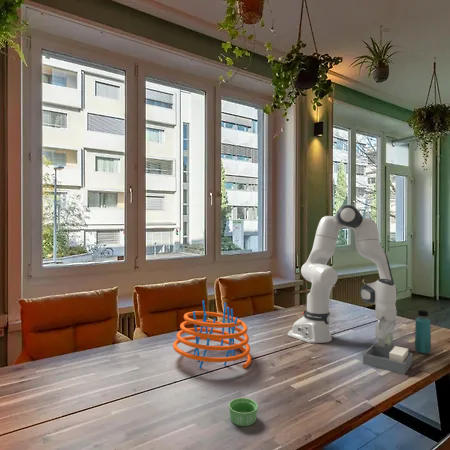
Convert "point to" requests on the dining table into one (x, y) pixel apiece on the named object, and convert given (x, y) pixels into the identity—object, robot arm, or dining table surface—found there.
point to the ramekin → (243, 411)
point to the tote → (385, 360)
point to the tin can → (388, 341)
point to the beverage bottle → (422, 333)
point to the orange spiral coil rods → (214, 336)
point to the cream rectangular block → (398, 354)
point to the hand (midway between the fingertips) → (385, 343)
